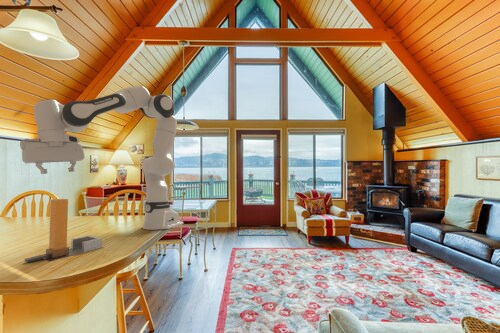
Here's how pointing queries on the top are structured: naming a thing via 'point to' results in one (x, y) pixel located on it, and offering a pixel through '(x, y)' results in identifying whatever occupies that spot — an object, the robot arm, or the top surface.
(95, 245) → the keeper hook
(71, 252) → the rail plate
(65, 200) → the orange upright panel
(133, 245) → the top surface
